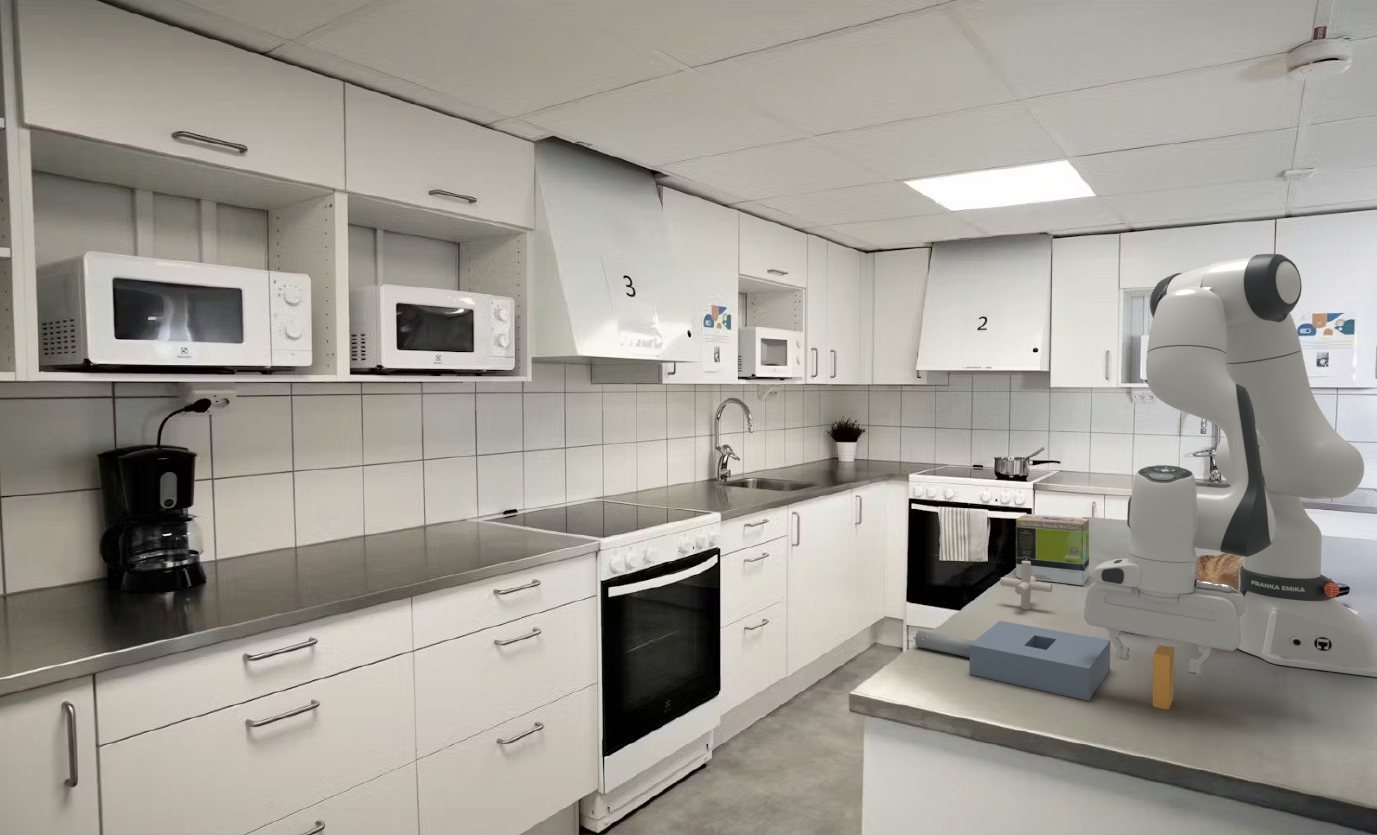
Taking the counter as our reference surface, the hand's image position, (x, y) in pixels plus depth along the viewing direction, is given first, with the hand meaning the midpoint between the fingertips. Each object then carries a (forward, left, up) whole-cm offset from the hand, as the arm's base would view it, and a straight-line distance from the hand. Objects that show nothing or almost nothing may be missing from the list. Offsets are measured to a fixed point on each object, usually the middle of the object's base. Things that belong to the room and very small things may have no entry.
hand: (1157, 665), depth 119 cm
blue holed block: (+23, -2, -5) cm, 24 cm away
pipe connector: (+29, -38, -6) cm, 48 cm away
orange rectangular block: (-1, 0, -6) cm, 6 cm away
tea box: (+31, -68, -6) cm, 75 cm away
